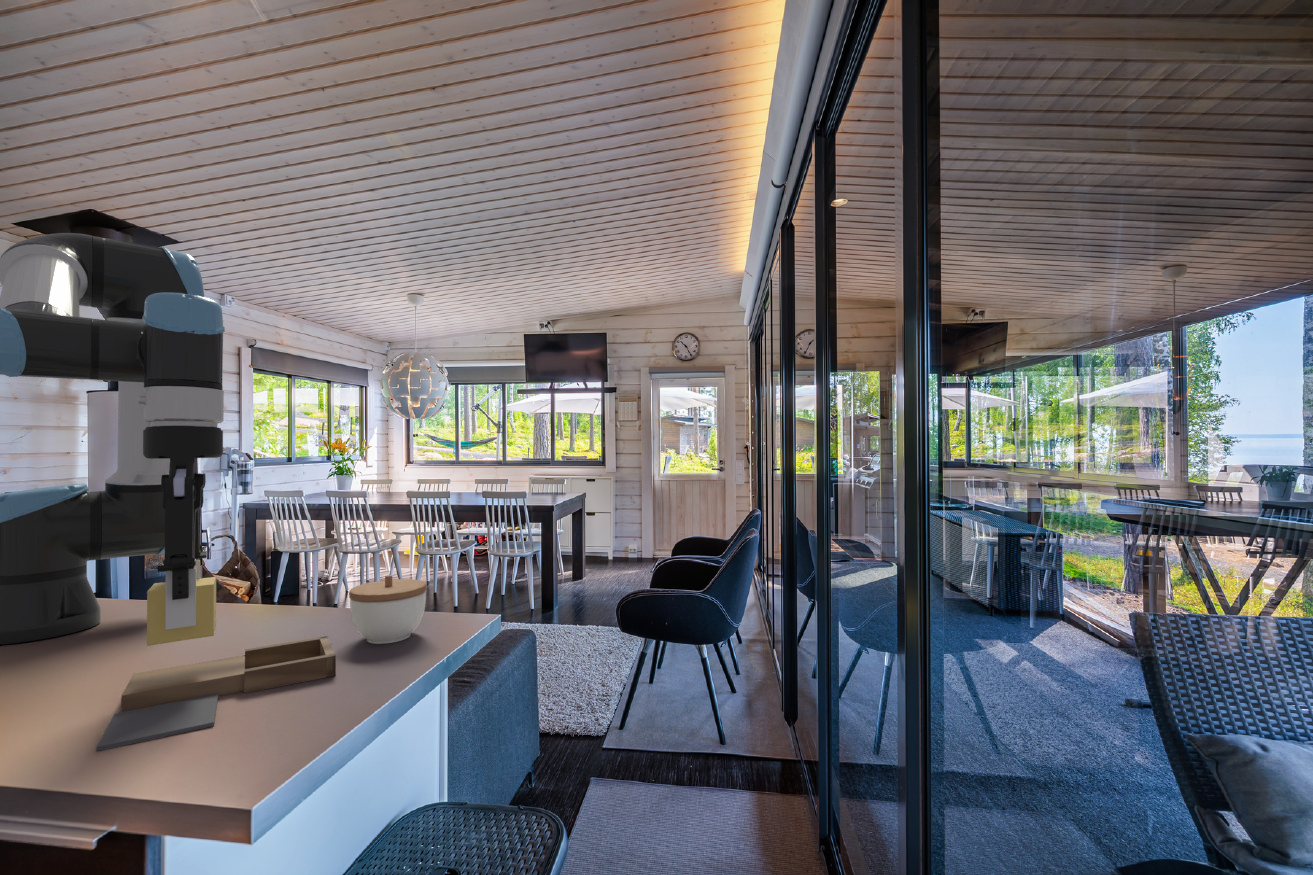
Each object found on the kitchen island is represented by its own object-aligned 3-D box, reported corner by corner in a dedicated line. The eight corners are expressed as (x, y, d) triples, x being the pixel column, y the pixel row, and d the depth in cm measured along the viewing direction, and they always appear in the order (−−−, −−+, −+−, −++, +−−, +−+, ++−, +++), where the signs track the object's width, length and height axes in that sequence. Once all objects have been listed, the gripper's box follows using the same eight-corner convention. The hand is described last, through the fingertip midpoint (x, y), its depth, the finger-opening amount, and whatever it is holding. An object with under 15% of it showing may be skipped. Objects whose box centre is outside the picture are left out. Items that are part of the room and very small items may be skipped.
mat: (114, 717, 65) (114, 713, 65) (218, 697, 70) (218, 693, 70) (96, 751, 57) (96, 746, 57) (214, 725, 62) (214, 721, 62)
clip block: (154, 633, 72) (154, 583, 72) (216, 625, 75) (216, 576, 76) (146, 645, 67) (147, 591, 67) (213, 635, 71) (213, 584, 71)
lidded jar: (441, 631, 94) (441, 571, 94) (385, 653, 84) (385, 585, 85) (391, 624, 98) (391, 566, 99) (332, 644, 89) (332, 580, 89)
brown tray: (134, 687, 73) (134, 666, 73) (327, 653, 84) (327, 635, 84) (119, 717, 64) (119, 693, 64) (335, 675, 76) (335, 655, 76)
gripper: (154, 428, 78) (153, 609, 77) (129, 420, 62) (128, 646, 61) (225, 429, 82) (225, 600, 81) (219, 421, 66) (219, 633, 66)
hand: (183, 619), depth 71 cm, fingers closed on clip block, 6 cm apart
